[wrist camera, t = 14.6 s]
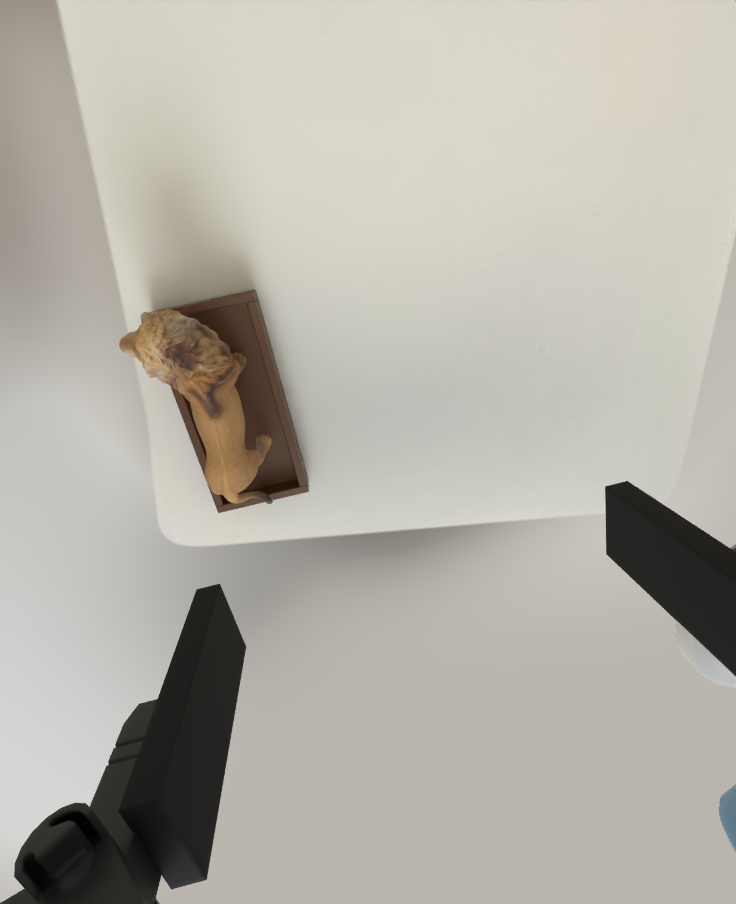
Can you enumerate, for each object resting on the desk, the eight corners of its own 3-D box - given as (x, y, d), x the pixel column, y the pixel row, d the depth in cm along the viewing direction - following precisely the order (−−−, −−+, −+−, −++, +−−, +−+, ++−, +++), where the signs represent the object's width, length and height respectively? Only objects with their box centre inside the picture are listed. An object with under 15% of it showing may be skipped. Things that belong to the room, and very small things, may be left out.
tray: (308, 480, 38) (308, 491, 36) (222, 501, 38) (218, 513, 36) (255, 289, 32) (252, 291, 30) (152, 311, 32) (143, 314, 30)
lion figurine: (154, 329, 32) (87, 327, 23) (225, 301, 32) (184, 289, 23) (242, 511, 36) (212, 568, 27) (305, 487, 36) (296, 537, 27)
